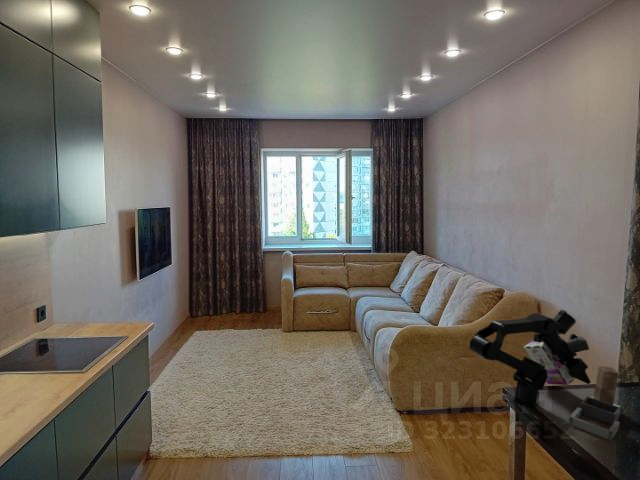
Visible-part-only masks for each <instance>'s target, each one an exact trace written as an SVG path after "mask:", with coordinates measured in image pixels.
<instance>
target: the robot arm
mask: <svg viewBox="0 0 640 480" xmlns="http://www.w3.org/2000/svg"><path fill="white" fill-rule="evenodd" d="M576 323H577V320H576V319H575V318H574V317H573V316H572V315H571V314H569V313H568V312H567V310H564V309H560V310H559V311H558V312H557V314H555V316H554V317H553V318H551V317H549V316H546V315H545V314H544V315H543V314H541V313H538V312H535V313H531V314H529V315H527V316H526V317H524V318H514V319H505V320H503V319H502V320H497V319H495V320H492V321H491V322H490V323H489V324H488V325H487V326H485V327H484V328H481V329H480V330H478V331H477V332H476V333H475V335H474V336H473V337H471V339H470V340H469V350H470V351H471V352H472V353H474V354H476V355H477V356H480V357H481V358H483V359H485V360H486V361H487V360H488V361H492V362H495V361H497V362H500V363H502V364H504V365H506V366H508V367H510V368H512V369H514V370H516V371H515V372H514V374H512V377H513V381H515V382H516V389H515V395H514V396H515V397H514V398H513V399H512V401H513V402H516V403H519V404H521V405H523V406H526V407H528V408H533V407H534V406H536V405H537V404H539V398H540V391H541V390H543V389H544V387H545V385H546V383H547V382H546V380H547V370H546V369H545V366H543V365H541V364H539V363H537V362H535V361H533V360H531V358H530V357H527V356H526V355H524V357H523V358H522V359H520V358H518V357H516V356H514V355H511V354H509V353H508V352H506V351H504V350H502V349H501V348H502V347H503V344H504V339H505V338H506V336H507V335H516V334H522V333H525V334H526V333H534V334H533V340H532V341H534V342H543V343H544V344H545V346H546V347H547V348H548V349H549V350H550V351H551V353H552V354H553V356H554V357H555V358H556V359H557V360H558V361H559V362H560V363H561V364H563V365H565V370H566V371H567V372H568V374H569V375H570V376H571V377H574V378H575V379H576V380H579V381H580V382H583V383H585V384H586V385H590V384H591V379H590V378H589V376H588V374H587V372H586V370H587V369H588V368H589V366H588V364H587V363H585V361H583V359H582V358H580V357H579V358H578V357H577V356H578V354H577V353H581V352H583V351H589V350H590V346H589V344H588V341H587V339H586V338H584V337H583V336H580V335H579V336H577V334H576V333H571V334H569V339H567V340H566V341H565V339H563V338H562V337H561V336H560V335H564V336H565V335H566V334H567V333H568V332H569V330H571V329H572V327H573V326H574V325H575V324H576ZM494 334H496V337H495V339H494V340H493V341H491V340H489V339H487V338H488V337H490V336H492V335H494ZM575 357H576V358H575Z"/></svg>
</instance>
